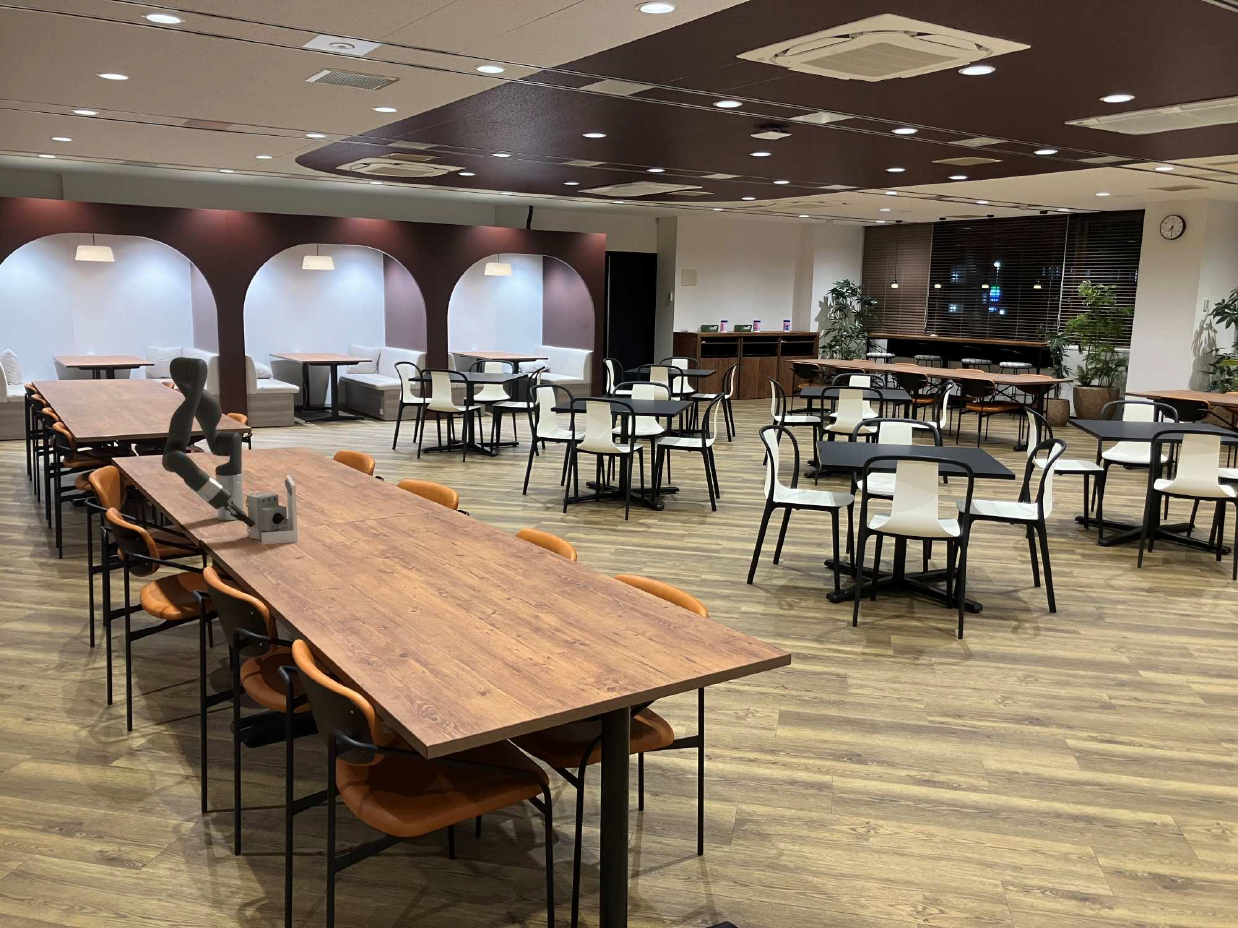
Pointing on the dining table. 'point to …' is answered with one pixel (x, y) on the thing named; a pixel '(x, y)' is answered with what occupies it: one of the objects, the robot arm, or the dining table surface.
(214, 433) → the robot arm
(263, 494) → the circuit breaker
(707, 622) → the dining table surface
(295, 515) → the panel bay
